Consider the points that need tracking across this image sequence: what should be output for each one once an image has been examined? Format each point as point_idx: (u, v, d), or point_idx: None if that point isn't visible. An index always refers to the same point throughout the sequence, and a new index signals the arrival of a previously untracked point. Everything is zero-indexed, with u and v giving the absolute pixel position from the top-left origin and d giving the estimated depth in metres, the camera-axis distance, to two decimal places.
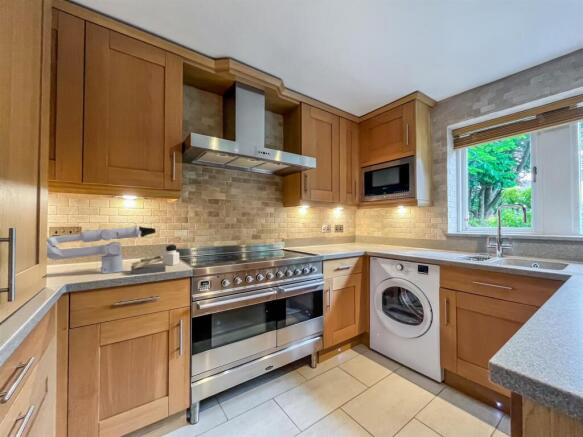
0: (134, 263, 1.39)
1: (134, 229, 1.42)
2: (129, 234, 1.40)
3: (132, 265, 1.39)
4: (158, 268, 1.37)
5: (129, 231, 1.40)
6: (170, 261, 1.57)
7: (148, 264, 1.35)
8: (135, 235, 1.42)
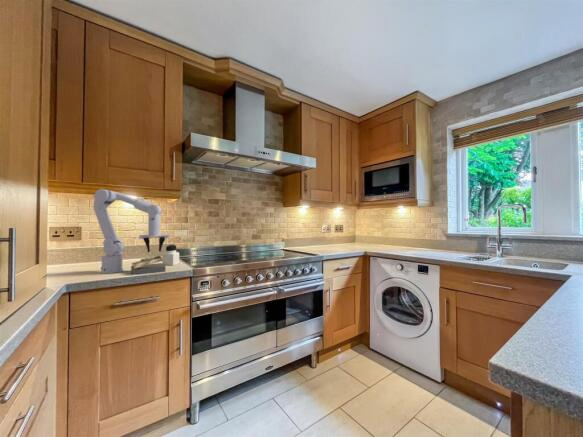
0: (134, 263, 1.39)
1: (150, 233, 1.39)
2: None
3: (132, 265, 1.39)
4: (158, 268, 1.37)
5: (148, 229, 1.39)
6: (170, 261, 1.57)
7: (148, 264, 1.35)
8: None
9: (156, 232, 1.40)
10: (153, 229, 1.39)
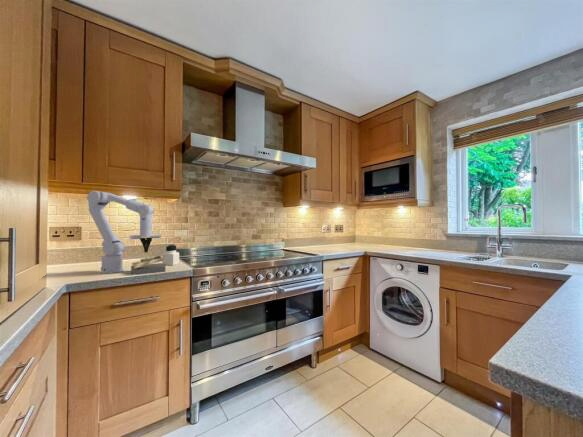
0: (134, 263, 1.39)
1: (141, 234, 1.37)
2: None
3: (132, 265, 1.39)
4: (158, 268, 1.37)
5: (140, 229, 1.37)
6: (170, 261, 1.56)
7: (148, 264, 1.35)
8: None
9: (148, 232, 1.37)
10: (145, 229, 1.37)
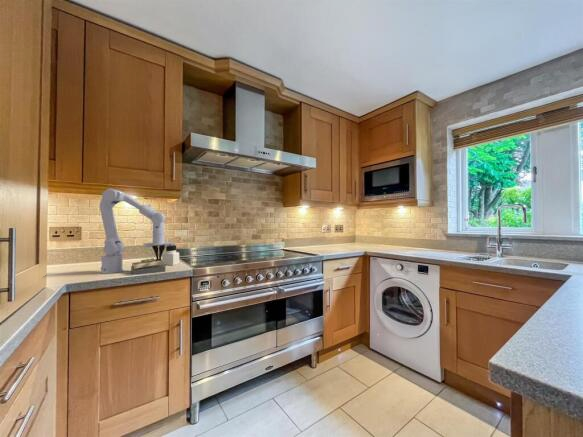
0: (134, 263, 1.39)
1: (154, 241, 1.40)
2: None
3: (132, 265, 1.39)
4: (158, 268, 1.37)
5: (153, 237, 1.41)
6: (170, 261, 1.57)
7: (148, 265, 1.35)
8: None
9: (160, 240, 1.41)
10: (157, 237, 1.40)
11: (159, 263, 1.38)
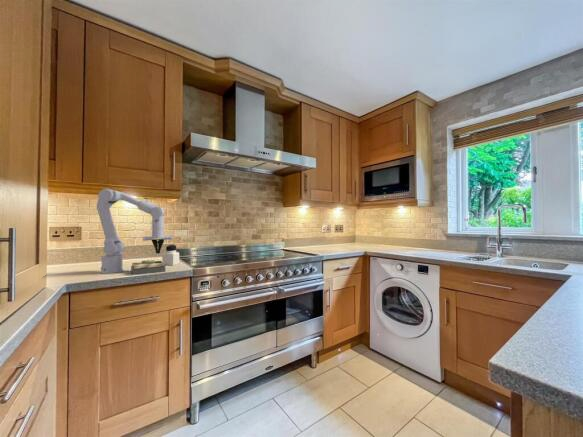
0: (135, 263, 1.39)
1: (153, 235, 1.40)
2: None
3: (132, 265, 1.39)
4: (158, 268, 1.37)
5: (152, 231, 1.40)
6: (170, 261, 1.57)
7: (148, 267, 1.35)
8: None
9: (160, 234, 1.41)
10: (157, 231, 1.40)
11: (159, 265, 1.38)
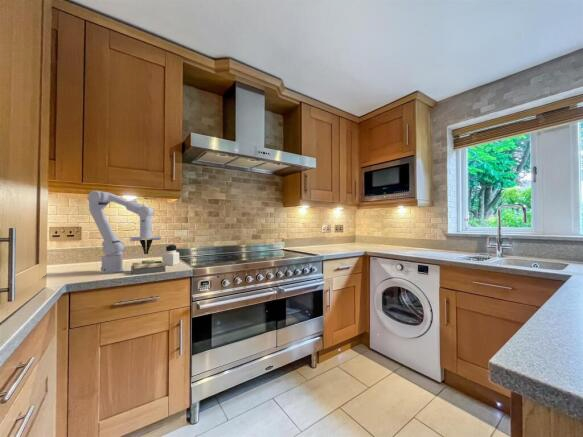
0: (135, 263, 1.39)
1: (141, 235, 1.37)
2: None
3: (132, 265, 1.39)
4: (158, 268, 1.37)
5: (140, 231, 1.37)
6: (170, 261, 1.56)
7: (148, 267, 1.35)
8: None
9: (148, 234, 1.37)
10: (145, 231, 1.37)
11: (159, 265, 1.38)
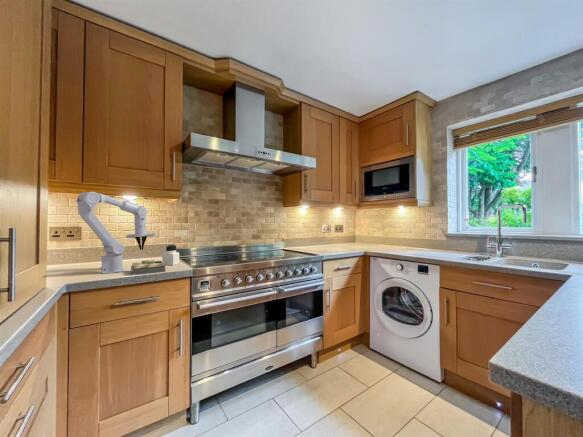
0: (135, 263, 1.39)
1: (136, 233, 1.48)
2: None
3: (132, 265, 1.39)
4: (158, 268, 1.37)
5: (135, 228, 1.48)
6: (170, 261, 1.57)
7: (148, 267, 1.35)
8: None
9: (142, 231, 1.48)
10: (139, 228, 1.47)
11: (159, 265, 1.38)
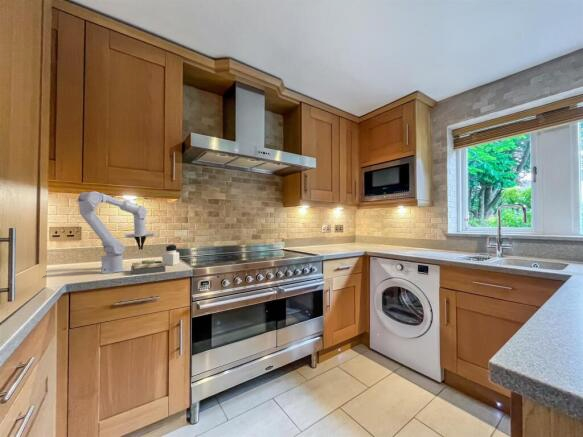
0: (135, 263, 1.39)
1: (135, 232, 1.48)
2: None
3: (132, 265, 1.39)
4: (158, 268, 1.37)
5: (134, 228, 1.49)
6: (170, 261, 1.57)
7: (148, 267, 1.35)
8: None
9: (141, 231, 1.49)
10: (138, 228, 1.48)
11: (159, 265, 1.38)
